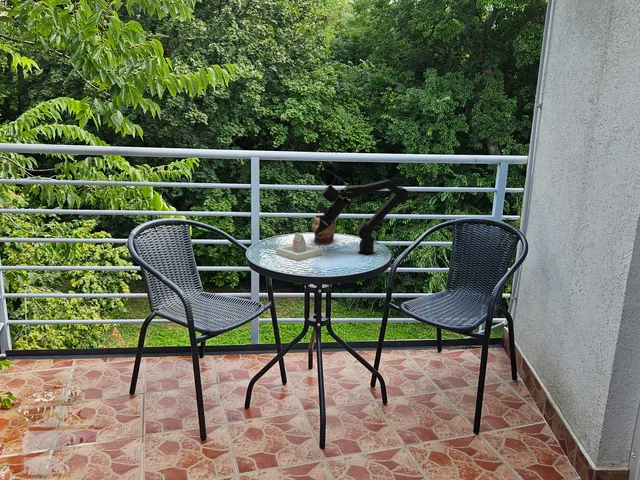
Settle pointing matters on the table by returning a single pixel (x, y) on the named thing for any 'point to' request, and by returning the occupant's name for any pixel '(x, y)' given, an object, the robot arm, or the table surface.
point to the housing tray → (288, 253)
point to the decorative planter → (323, 232)
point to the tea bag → (299, 243)
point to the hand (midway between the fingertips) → (317, 232)
